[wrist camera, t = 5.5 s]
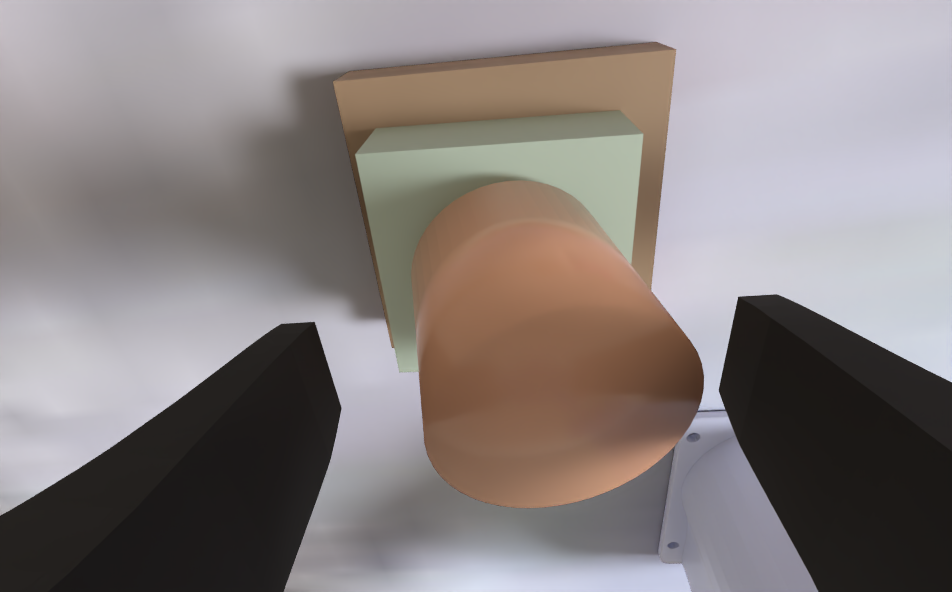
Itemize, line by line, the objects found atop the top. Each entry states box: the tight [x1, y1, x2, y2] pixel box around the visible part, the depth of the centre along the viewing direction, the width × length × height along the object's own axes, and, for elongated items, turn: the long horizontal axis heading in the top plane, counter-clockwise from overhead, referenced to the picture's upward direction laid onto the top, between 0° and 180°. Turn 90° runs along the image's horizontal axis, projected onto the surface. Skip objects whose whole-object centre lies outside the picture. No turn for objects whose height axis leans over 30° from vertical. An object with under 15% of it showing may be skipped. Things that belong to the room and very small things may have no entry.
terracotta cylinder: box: [411, 180, 704, 508], centre depth 10 cm, size 4×4×4 cm
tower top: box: [355, 110, 643, 372], centre depth 13 cm, size 6×6×2 cm
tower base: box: [333, 42, 676, 348], centre depth 15 cm, size 8×8×2 cm
